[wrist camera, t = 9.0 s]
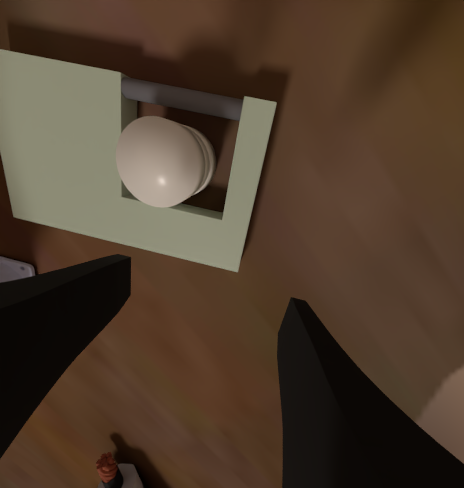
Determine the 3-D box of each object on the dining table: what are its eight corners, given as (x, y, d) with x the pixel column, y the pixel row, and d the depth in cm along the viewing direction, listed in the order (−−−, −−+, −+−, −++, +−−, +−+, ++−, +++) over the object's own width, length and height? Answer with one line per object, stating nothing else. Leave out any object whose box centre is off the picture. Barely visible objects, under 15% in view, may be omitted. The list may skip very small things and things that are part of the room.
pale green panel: (35, 211, 21) (13, 217, 20) (10, 56, 17) (-22, 44, 15) (240, 261, 20) (237, 272, 18) (275, 108, 15) (276, 102, 14)
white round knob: (152, 185, 19) (114, 196, 14) (157, 118, 17) (116, 106, 12) (209, 200, 19) (190, 216, 14) (222, 135, 17) (205, 128, 12)
